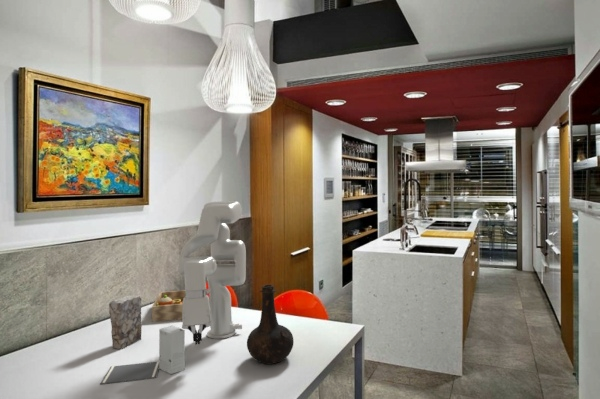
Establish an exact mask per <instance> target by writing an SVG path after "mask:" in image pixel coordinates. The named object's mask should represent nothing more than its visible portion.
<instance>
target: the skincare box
mask: <svg viewBox="0 0 600 399" xmlns="http://www.w3.org/2000/svg"><path fill="white" fill-rule="evenodd" d="M185 330H186V329H182V328H180V327H178V326H176V325H168V326H166V327H165V326H164V327H161V328H159V334H158V335H159V340H158V341H159V342H158V343H159V348H158V349H159V350H158V351H159V352H158V353H159V356H158V358H159V359H158V361H159V370H162V371H164V372H165V373H168V374H170V375H173V374H176V373H178V372H181V371H184V370H185V360H186V359H185V356H186V355H185V342H186V341H185Z"/></svg>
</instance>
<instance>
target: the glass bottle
mask: <svg viewBox="0 0 600 399" xmlns="http://www.w3.org/2000/svg"><path fill="white" fill-rule="evenodd" d="M274 287H275V285H274V284H265V285H262V286H261V290H260V291H259V293H261V296H262V297H261V300H262V301H261V311H260V312H261V313H260V320H259V324H258V326H257V327H255V328H253V329H252V330H251V331H250V333H249V334H248V337H247V339H246V340H247V341H246V348H247V351H248V352H249V355H250V356H251V357H252V358H253V359H254V360H255V361H257V362H259V363H261V364H268V365H269V364H277V363H279V362H282V361H284V360H285V359H287V357H289V355H290V353H291V352H292V350H293V347H294V343H295V342H294V336H293V333H292V332H291V330H290V329H289V328H287V327H285V326H284V325H282V324H279V322H278V318H277V313H276V307H275V306H276V305H275V293H276V291H277V290H276V289H274Z"/></svg>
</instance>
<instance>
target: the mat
mask: <svg viewBox="0 0 600 399" xmlns="http://www.w3.org/2000/svg"><path fill="white" fill-rule="evenodd" d="M159 370H160V369H159V360H157V361H150V362H141V363H131V364H129V363H128V364H123V365H112V366H110V367H109V368H108V370H107V372H106V373H105V375H104V376H103V379H102V380H101V381H100V385H107V384H115V383H116V384H118V383H122V382H123V383H124V382H133V381H141V380H150V379H156V378H157V376H158V373H159Z"/></svg>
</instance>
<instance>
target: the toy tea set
mask: <svg viewBox="0 0 600 399" xmlns="http://www.w3.org/2000/svg"><path fill="white" fill-rule="evenodd" d="M173 304H183V302H181V299H179V300H172V299H171V298H169V297H167V295H165V296H164V297H163V298H162V299H160V300H159V301H158V303H157V304H156V306H161V305H173Z"/></svg>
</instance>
